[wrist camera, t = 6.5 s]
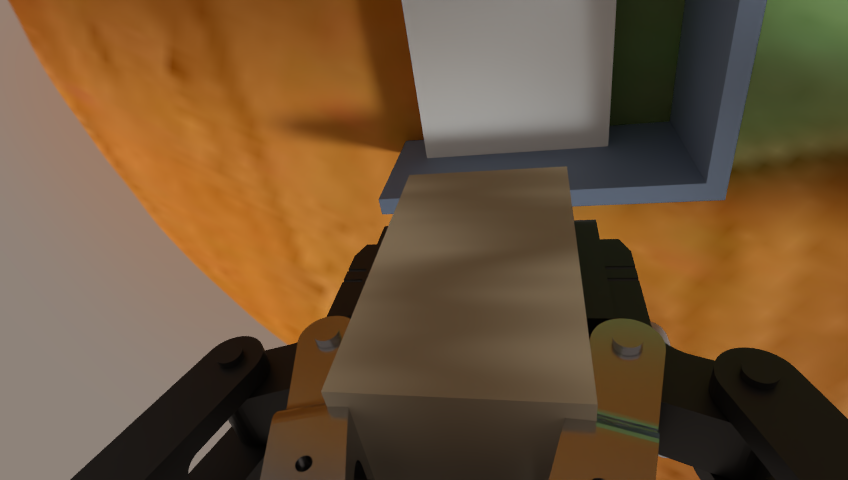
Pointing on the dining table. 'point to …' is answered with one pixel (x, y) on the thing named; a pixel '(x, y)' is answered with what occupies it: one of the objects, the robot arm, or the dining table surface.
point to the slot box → (573, 98)
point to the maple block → (469, 331)
